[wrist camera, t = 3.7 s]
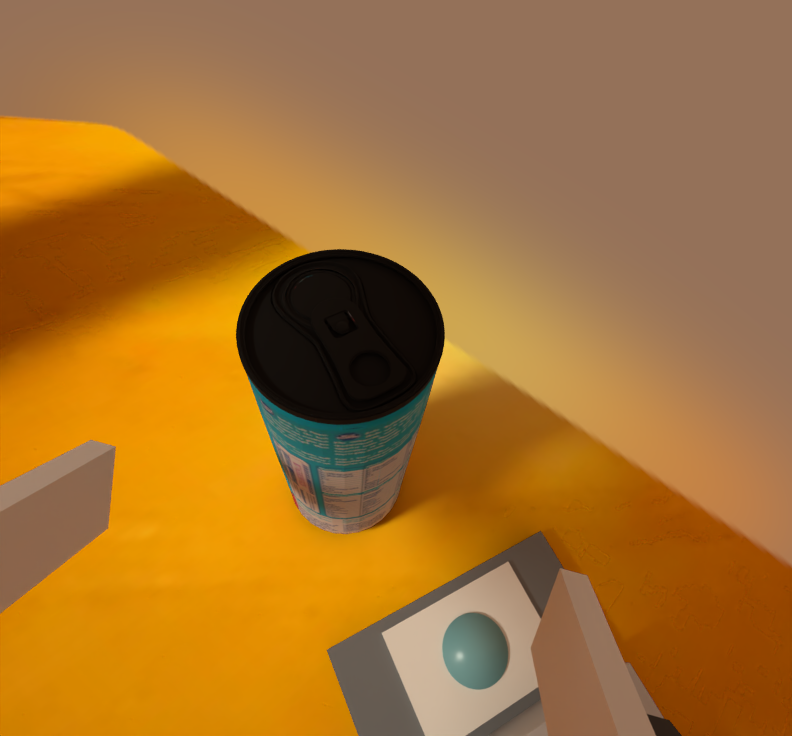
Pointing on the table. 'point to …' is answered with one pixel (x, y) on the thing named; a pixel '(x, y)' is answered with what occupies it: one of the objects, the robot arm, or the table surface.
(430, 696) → the can holder
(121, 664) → the table surface
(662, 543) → the table surface
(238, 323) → the beverage can
